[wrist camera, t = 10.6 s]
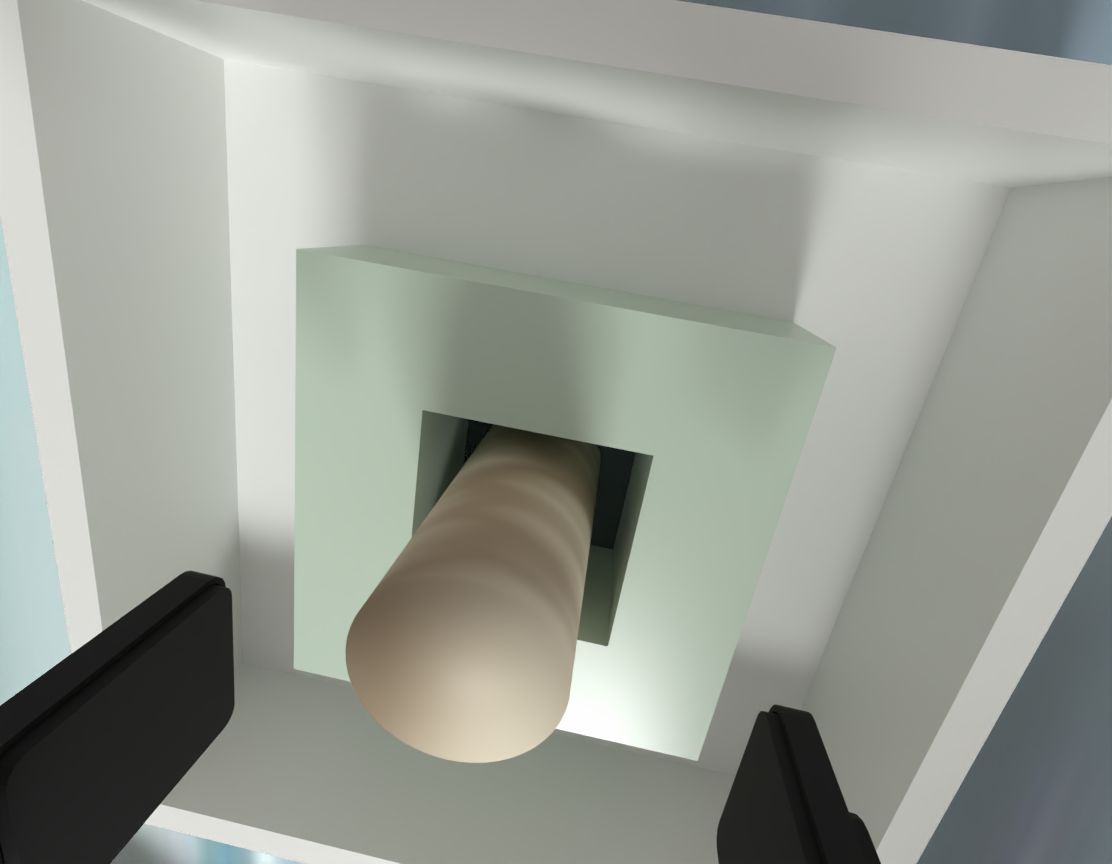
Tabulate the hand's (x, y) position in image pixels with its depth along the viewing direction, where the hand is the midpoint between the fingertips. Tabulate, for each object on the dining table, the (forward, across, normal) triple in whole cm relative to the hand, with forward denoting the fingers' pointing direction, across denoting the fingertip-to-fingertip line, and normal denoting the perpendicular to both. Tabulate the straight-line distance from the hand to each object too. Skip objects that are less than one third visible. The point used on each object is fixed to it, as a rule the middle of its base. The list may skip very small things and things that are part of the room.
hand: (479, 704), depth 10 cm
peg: (+10, +1, 0) cm, 10 cm away
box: (+10, 0, -1) cm, 10 cm away
